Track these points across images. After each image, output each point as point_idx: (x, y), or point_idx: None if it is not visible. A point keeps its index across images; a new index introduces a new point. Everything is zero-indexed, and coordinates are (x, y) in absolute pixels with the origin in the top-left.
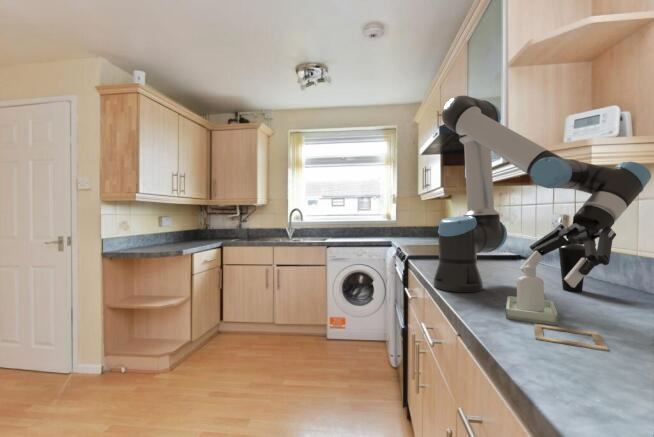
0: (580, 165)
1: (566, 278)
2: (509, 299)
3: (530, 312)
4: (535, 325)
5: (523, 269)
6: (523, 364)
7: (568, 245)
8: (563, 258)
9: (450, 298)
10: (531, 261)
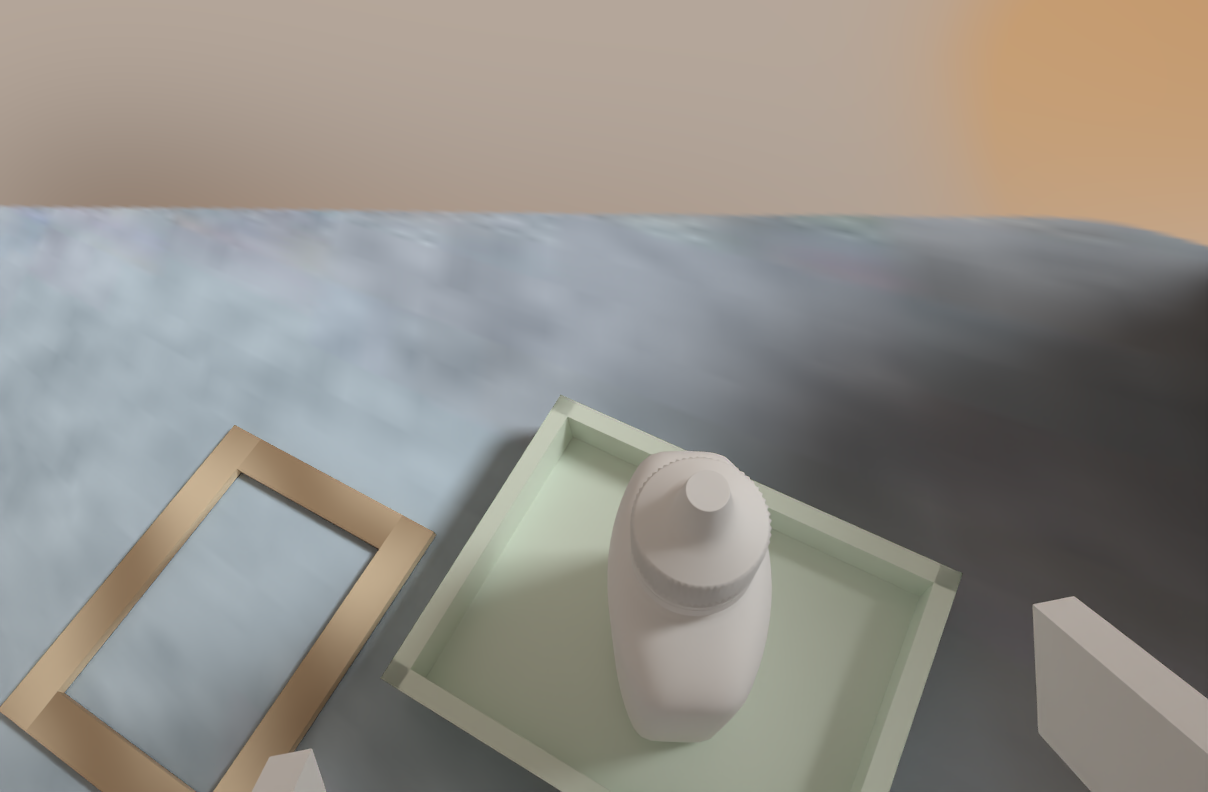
0: None
1: (277, 765)
2: (830, 532)
3: (480, 522)
4: (404, 524)
5: (1043, 637)
6: (50, 268)
7: None
8: None
9: (1034, 247)
10: (688, 503)
